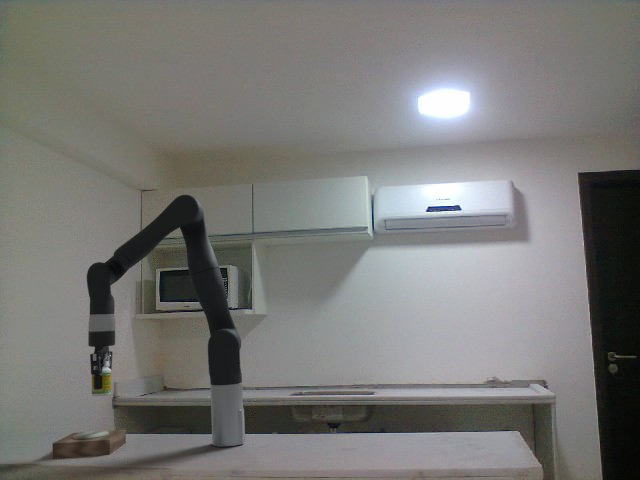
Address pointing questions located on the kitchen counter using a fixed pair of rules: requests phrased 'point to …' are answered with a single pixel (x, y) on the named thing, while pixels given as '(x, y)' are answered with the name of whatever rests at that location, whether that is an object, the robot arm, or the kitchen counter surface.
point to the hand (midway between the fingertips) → (101, 387)
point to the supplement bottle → (106, 382)
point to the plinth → (89, 443)
